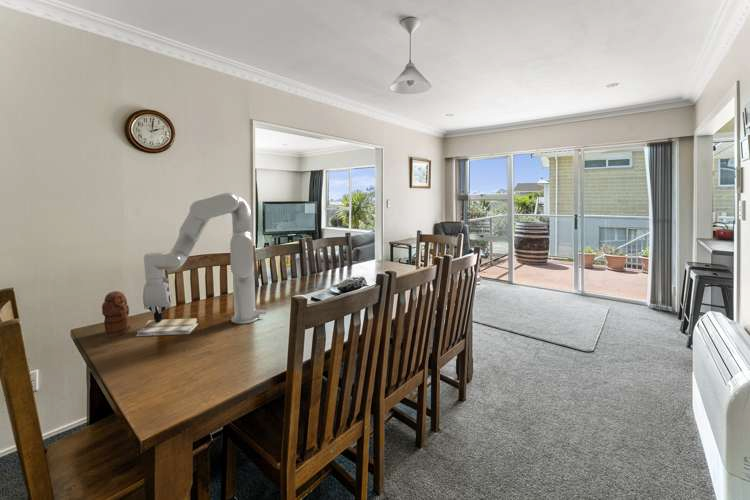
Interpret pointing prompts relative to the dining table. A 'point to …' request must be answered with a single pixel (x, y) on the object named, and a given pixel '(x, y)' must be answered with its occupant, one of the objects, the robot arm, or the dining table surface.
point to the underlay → (172, 334)
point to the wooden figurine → (115, 314)
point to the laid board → (164, 330)
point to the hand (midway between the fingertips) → (158, 321)
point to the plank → (171, 322)
